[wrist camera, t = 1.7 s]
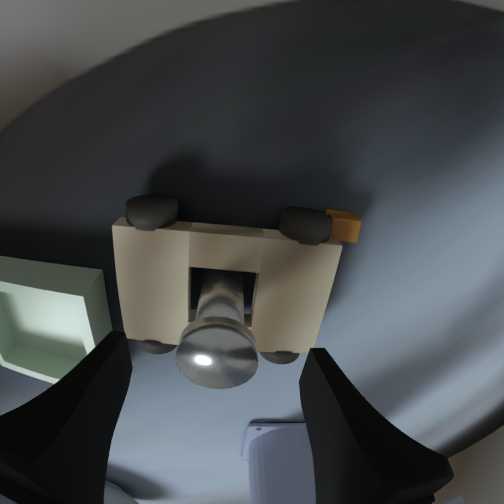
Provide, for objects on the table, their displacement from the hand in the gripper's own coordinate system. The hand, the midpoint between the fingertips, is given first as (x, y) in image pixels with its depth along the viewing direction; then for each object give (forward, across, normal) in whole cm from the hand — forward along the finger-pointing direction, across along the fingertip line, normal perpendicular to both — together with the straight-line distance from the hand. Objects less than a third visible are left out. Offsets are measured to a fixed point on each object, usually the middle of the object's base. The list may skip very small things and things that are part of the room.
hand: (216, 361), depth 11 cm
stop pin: (+7, 0, 0) cm, 7 cm away
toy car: (+7, 0, 0) cm, 7 cm away
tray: (+7, +13, +5) cm, 16 cm away
